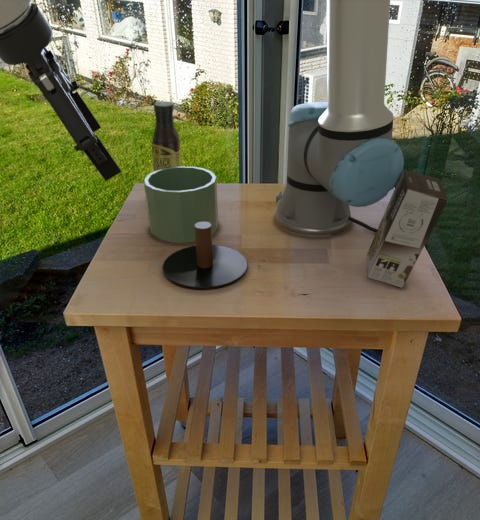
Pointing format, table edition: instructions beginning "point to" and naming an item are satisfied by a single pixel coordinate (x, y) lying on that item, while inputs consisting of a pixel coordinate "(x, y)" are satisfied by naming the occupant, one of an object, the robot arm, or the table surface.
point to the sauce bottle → (165, 138)
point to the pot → (180, 202)
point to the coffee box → (405, 227)
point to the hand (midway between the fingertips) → (103, 152)
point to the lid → (204, 263)
